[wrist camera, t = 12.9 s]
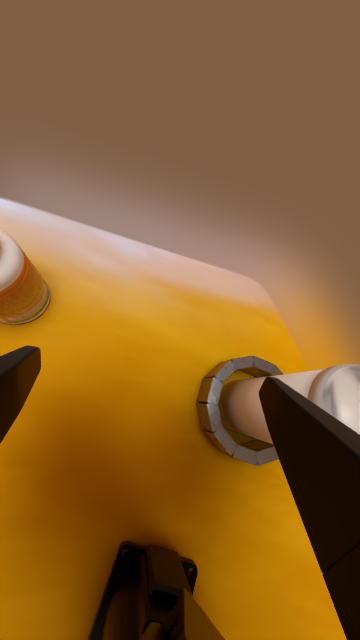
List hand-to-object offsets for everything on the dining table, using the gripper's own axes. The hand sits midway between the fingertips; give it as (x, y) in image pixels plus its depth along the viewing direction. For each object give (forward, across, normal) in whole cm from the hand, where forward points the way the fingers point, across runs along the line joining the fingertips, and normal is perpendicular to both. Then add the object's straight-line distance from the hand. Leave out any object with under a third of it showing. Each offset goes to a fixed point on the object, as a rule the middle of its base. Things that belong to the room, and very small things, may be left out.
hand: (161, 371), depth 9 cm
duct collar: (+9, -10, +10) cm, 17 cm away
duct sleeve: (+9, -10, +10) cm, 17 cm away
